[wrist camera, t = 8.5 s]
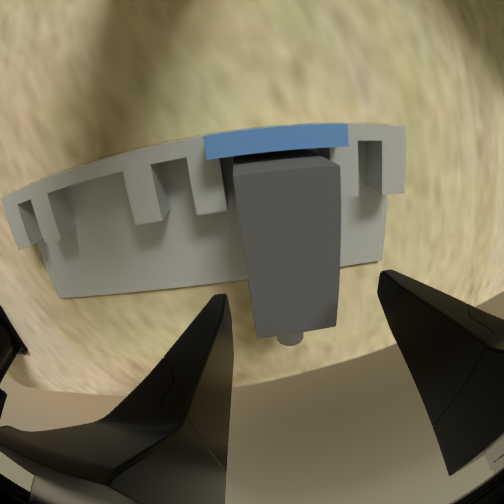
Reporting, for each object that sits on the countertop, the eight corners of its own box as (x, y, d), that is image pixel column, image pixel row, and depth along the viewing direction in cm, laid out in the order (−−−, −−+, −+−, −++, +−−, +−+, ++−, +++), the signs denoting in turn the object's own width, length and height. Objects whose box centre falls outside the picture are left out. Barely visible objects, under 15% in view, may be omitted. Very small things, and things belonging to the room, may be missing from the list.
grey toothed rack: (380, 257, 18) (405, 288, 15) (61, 296, 18) (39, 326, 15) (384, 122, 14) (421, 127, 10) (20, 186, 14) (-14, 204, 10)
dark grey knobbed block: (310, 304, 19) (331, 364, 14) (256, 312, 19) (262, 375, 14) (304, 148, 14) (340, 165, 9) (233, 155, 14) (232, 176, 9)
